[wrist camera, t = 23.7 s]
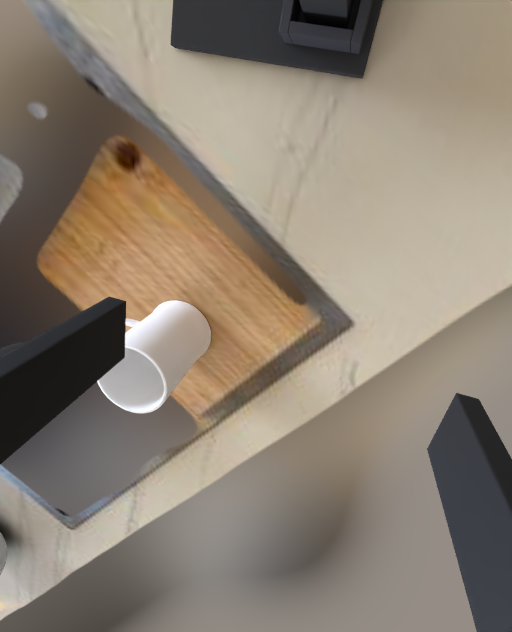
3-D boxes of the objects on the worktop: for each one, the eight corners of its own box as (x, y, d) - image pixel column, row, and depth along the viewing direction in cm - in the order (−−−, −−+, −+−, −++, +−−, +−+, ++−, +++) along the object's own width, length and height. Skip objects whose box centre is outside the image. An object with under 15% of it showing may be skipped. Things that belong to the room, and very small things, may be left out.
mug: (121, 323, 48) (56, 369, 37) (143, 273, 44) (78, 307, 34) (194, 370, 48) (150, 429, 38) (222, 324, 45) (182, 375, 34)
